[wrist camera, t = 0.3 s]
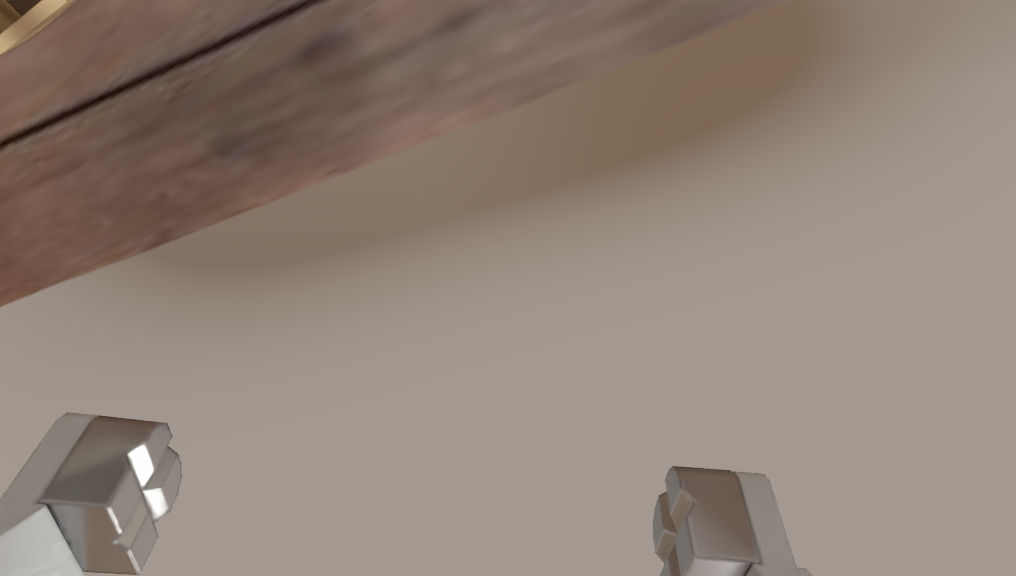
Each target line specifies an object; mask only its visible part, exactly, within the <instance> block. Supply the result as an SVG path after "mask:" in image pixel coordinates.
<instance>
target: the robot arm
mask: <svg viewBox="0 0 1016 576" xmlns="http://www.w3.org/2000/svg"><path fill="white" fill-rule="evenodd" d="M171 438H172V434H171V432H170V429H169V426H168V424H167V423H162V422H153V421H143V420H135V419H125V418H116V417H107V416H99V415H88V414H77V413H66V414H64V415H63V416H62V417H60V418H59V419H57V420H56V421H55V423H54V424H53V425H52V427H51V429H50V430H49V431H48V433H47V434H46V435H45V437H44V438H43V440H42V441H41V442H40V444H39V445H38V447H37V448H36V449H35V451H34V452H33V454H32V455H31V457H30V458H29V459H28V461H27V462H26V464H25V465H24V466H23V468H22V469H21V470H20V472H19V473H18V475H17V476H16V478H15V479H14V480H13V482H12V483H11V485H10V486H9V487H8V489H7V490H6V492H5V493H4V494H3V496H2V497H1V499H0V576H84V572H95V573H114V574H133V575H140V573H141V571H142V569H143V567H144V565H145V562H146V561H147V559H148V557H149V555H150V553H151V550H152V548H153V546H154V544H155V542H156V540H157V538H158V533H157V530H156V527H155V522H156V521H158V520H159V519H160V518H162V517H163V516H164V515H166V514H167V513H168V512H170V510H171V508H172V506H173V504H174V502H175V500H176V497H177V495H178V491H179V486H180V482H181V477H182V472H181V462H180V458H179V455H178V454H177V453H176V452H175V451H174V450H172V449H171V448H170V447H169V446H168V444H169V442H170V440H171ZM665 482H666V489H667V491H666V492H664V493H663V494H661V495H659V497H658V500H657V503H656V506H655V510H654V519H653V539H654V547H655V553H656V554H657V555H658V556H659V557H660V559H661V560H662V561H663V562H664V563H665V564H664V567H663V569H662V572H661V574H660V576H812V575H811V574H810V573H809V571H807V569H804V568H797V567H796V564H795V561H794V557H793V554H792V551H791V548H790V545H789V542H788V538H787V535H786V532H785V529H784V525H783V522H782V519H781V516H780V512H779V509H778V506H777V503H776V500H775V496H774V493H773V490H772V487H771V484H770V481H769V479H768V478H767V477H766V475H765V474H758V473H746V472H732V471H730V470H718V469H704V468H690V467H676V466H673V467H672V468H670V469H669V471H668V473H667V476H666V478H665Z"/></svg>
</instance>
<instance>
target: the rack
mask: <svg viewBox="0 0 1016 576" xmlns="http://www.w3.org/2000/svg"><path fill="white" fill-rule="evenodd" d="M77 1H78V0H41V1H40V2H39V3H37V4H36V5H35V6H34V7H33V8H31V9H30V10H29V11H28V12H26V13H25V14H24V15H23V16H21V15H20V14H19V13H18V12H17V11H16V10H15V9H14V8H13V7H12V6H11V5H10V4H9V3H8V2H7V1H6V0H0V56H2V55H4V54H5V53H7V52H9V51H10V50H12V49H14V48H15V47H17V46H19V45H20V44H22V43H24V42H25V41H27V40H28V39H30V38H31V37H33V36H34V35H35V34H36V33H38V32H39V31H40V30H42V29H43V28H44V27H45V26H47V25H48V24H49V23H50V22H52V21H53V20H54V19H55V18H57V17H58V16H59V15H60V14H62V13H63V12H64V11H65V10H67V9H68V8H69V7H71V6H72V5H73V4H74V3H76V2H77Z"/></svg>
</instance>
